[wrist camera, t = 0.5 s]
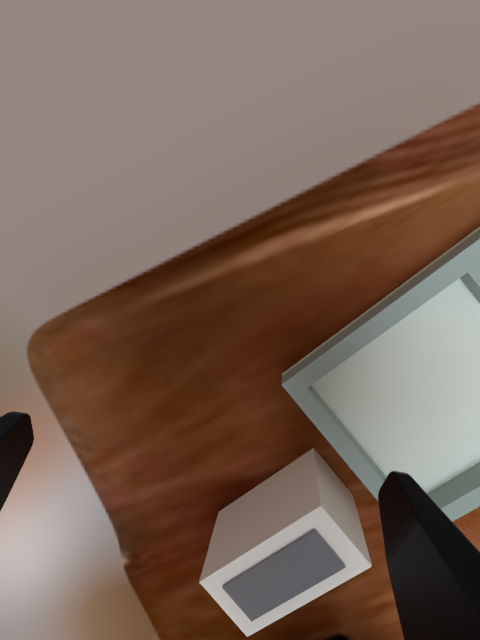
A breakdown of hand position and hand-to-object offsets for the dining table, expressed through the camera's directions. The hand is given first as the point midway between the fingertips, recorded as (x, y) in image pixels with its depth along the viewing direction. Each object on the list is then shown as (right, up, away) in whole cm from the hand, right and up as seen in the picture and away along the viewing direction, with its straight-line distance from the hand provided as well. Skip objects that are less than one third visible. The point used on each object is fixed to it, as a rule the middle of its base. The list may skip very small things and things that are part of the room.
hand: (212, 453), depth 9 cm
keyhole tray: (+14, +1, +11) cm, 18 cm away
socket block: (+4, -9, +15) cm, 18 cm away
